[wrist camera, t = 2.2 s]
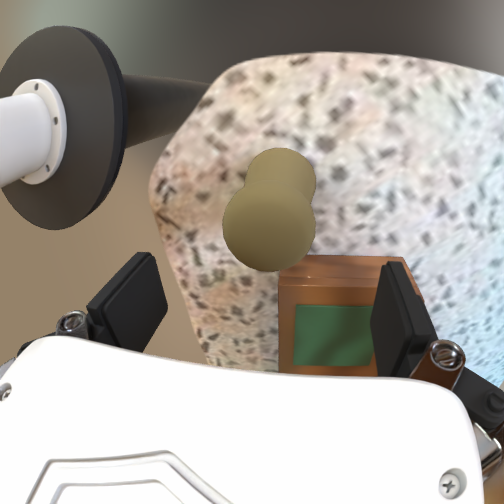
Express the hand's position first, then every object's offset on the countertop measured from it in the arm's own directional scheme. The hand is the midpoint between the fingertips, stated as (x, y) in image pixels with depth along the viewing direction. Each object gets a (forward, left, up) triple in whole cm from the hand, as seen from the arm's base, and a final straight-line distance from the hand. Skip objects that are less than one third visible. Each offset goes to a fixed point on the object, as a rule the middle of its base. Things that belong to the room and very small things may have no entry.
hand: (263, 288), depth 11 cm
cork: (0, 0, -15) cm, 15 cm away
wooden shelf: (+6, -18, -15) cm, 24 cm away
